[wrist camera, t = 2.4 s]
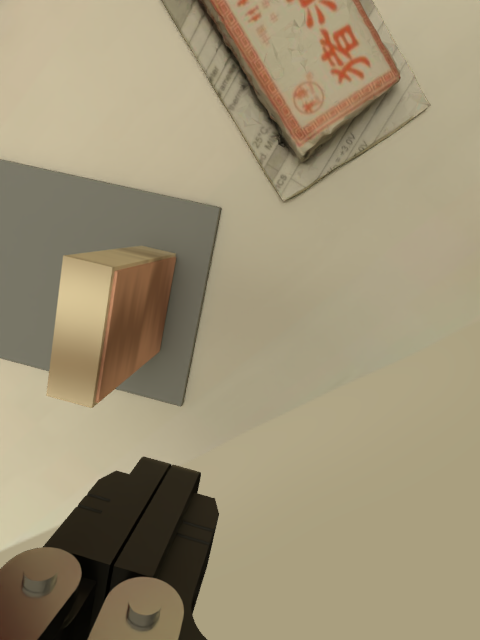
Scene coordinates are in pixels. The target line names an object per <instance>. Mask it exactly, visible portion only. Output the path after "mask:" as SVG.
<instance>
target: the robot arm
mask: <svg viewBox="0 0 480 640" xmlns="http://www.w3.org/2000/svg"><path fill="white" fill-rule="evenodd" d="M200 477H201V473H200V472H197V471H194V470H190V469H187V468H183V467H180V466H176V465H172V466H171V464H168V463H165V462H161V461H158V460H154V459H151V458H147V457H142V458H141V459H140V461H139V462H138V463H137V465H136V466H135V467H134V469H133V470H132V472H131V473H130V474H126V473H123V472H119V471H115V472H113V473H111V474H109V475H107V476H105V477H103V478H101V479H99V480H98V481H97V483H96V484H95V485H94V486H93V487H92V489H91V490H90V491H89V492H88V494H87V496H85V497H84V498H83V499H82V501H81V502H80V503H79V505H78V507H76V508H75V509H74V510H73V511H72V513H71V514H70V515H69V516H68V517H67V519H66V520H65V521H64V522H63V524H62V525H61V526H60V527H59V528H58V530H57V531H56V532H55V533H54V534H53V536H52V537H51V538H50V539H49V540H48V542H47V543H46V544H45V545H44V546H43V547H42V548H35V549H31V550H27V551H24V552H22V553H20V554H18V555H16V556H15V557H13V558H12V559H11V560H9V561H8V562H7V563H6V564H5V565H4V566H3V567H2V568H1V569H0V640H207V639H206V638H205V637H204V636H203V635H202V634H201V632H200V631H199V629H198V628H197V626H196V624H195V622H194V619H193V616H192V614H193V610H194V607H195V604H196V600H197V597H198V594H199V591H200V587H201V584H202V581H203V577H204V574H205V571H206V568H207V564H208V560H209V555H210V551H211V546H212V542H213V537H214V533H215V529H216V525H217V520H218V516H219V513H218V509H217V505H216V501H215V498H211V497H208V496H204V495H200V494H197V491H198V487H199V482H200Z"/></svg>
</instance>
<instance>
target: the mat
mask: <svg viewBox="0 0 480 640" xmlns="http://www.w3.org/2000/svg"><path fill="white" fill-rule="evenodd" d="M220 213H221V208H220V207H215V206H211V205H206V204H202V203H197V202H193V201H188V200H183V199H179V198H174V197H170V196H165V195H160V194H156V193H151V192H147V191H142V190H138V189H133V188H128V187H124V186H119V185H115V184H110V183H106V182H101V181H96V180H92V179H87V178H83V177H78V176H74V175H69V174H64V173H60V172H55V171H51V170H46V169H41V168H37V167H32V166H28V165H23V164H19V163H14V162H9V161H5V160H0V358H1V359H5V360H9V361H12V362H16V363H20V364H24V365H27V366H31V367H35V368H39V369H42V370H46V371H49V370H50V361H51V353H52V345H53V336H54V328H55V320H56V311H57V303H58V295H59V286H60V278H61V270H62V261H63V255H71V254H79V253H87V252H95V251H103V250H111V249H119V248H127V247H135V246H146V247H150V248H154V249H159V250H163V251H167V252H172V253H176V262H175V268H174V274H173V279H172V285H171V290H170V296H169V302H168V307H167V313H166V318H165V324H164V330H163V335H162V341H161V347H160V352H158V353H157V354H156V355H155V356H154V357H152V358H151V359H150V360H149V361H148V362H146V363H145V364H144V365H143V366H142V367H141V368H139V369H138V370H137V371H136V372H135V373H133V374H132V375H131V376H130V377H129V378H127V379H126V380H125V381H124V382H123V383H121V384H120V385H119V386H118V387H117V388H115V389H117V390H121V391H125V392H129V393H132V394H136V395H140V396H144V397H147V398H151V399H155V400H159V401H162V402H166V403H170V404H174V405H177V406H182V405H183V401H184V396H185V391H186V386H187V381H188V376H189V371H190V366H191V360H192V355H193V350H194V345H195V340H196V335H197V330H198V325H199V320H200V315H201V309H202V304H203V299H204V294H205V289H206V284H207V279H208V274H209V269H210V264H211V258H212V253H213V248H214V243H215V238H216V233H217V228H218V223H219V218H220Z"/></svg>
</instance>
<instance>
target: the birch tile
mask: <svg viewBox="0 0 480 640" xmlns="http://www.w3.org/2000/svg"><path fill="white" fill-rule="evenodd" d="M175 262H176V253H172V252H167V251H163V250H159V249H154V248H150V247H146V246H135V247H127V248H119V249H111V250H103V251H95V252H87V253H79V254H71V255H63V261H62V270H61V278H60V286H59V295H58V303H57V311H56V320H55V328H54V336H53V345H52V353H51V361H50V370H49V378H48V386H47V394H46V396H50V397H53V398H57V399H61V400H64V401H68V402H72V403H75V404H79V405H83V406H86V407H90V408H93V407H94V406H95V405H96V404H97V403H99V402H100V401H101V400H102V399H103V398H105V397H106V396H107V395H108V394H109V393H111V392H112V391H113V390H114V389H115V388H117V387H118V386H119V385H120V384H121V383H123V382H124V381H125V380H126V379H127V378H129V377H130V376H131V375H132V374H133V373H135V372H136V371H137V370H138V369H139V368H141V367H142V366H143V365H144V364H145V363H146V362H148V361H149V360H150V359H151V358H152V357H154V356H155V355H156V354H157V353H158V352H160V347H161V341H162V335H163V330H164V324H165V318H166V313H167V307H168V302H169V296H170V290H171V285H172V279H173V274H174V268H175Z"/></svg>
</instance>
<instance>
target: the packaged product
mask: <svg viewBox="0 0 480 640" xmlns="http://www.w3.org/2000/svg"><path fill="white" fill-rule="evenodd" d="M162 2H163V4H164V5H165V7H166V9H167V10H168V12H169V14H170V16H171V17H172V19H173V21H174V22H175V24H176V26H177V28H178V29H179V31H180V33H181V35H182V36H183V38H184V39H185V41H186V42H187V44H188V45H189V47H190V49H191V50H192V52H193V53H194V55H195V56H196V58H197V60H198V62H199V63H200V65H201V67H202V69H203V70H204V72H205V74H206V76H207V77H208V79H209V81H210V83H211V84H212V86H213V88H214V90H215V91H216V93H217V95H218V97H219V98H220V100H221V101H222V103H223V104H224V106H225V107H226V109H227V110H228V112H229V114H230V115H231V117H232V118H233V120H234V122H235V123H236V125H237V127H238V129H239V130H240V132H241V134H242V135H243V137H244V139H245V141H246V142H247V144H248V146H249V147H250V149H251V151H252V152H253V154H254V156H255V158H256V159H257V161H258V163H259V164H260V166H261V168H262V169H263V171H264V173H265V175H266V176H267V178H268V179H269V181H270V182H271V184H272V185H273V187H274V188H275V190H276V191H277V193H278V194H279V196H280V197H281V199H282V200H283V201H286V200H288V199H289V198H291V197H293V196H295V195H297V194H299V193H301V192H303V191H305V190H306V189H308V188H309V187H310V186H312V185H313V184H314V183H316V182H317V181H318V180H320V179H321V178H323V177H324V176H325V175H327V174H328V173H329V172H331V171H332V170H333V169H335V168H337V167H339V166H340V165H342V164H344V163H346V162H348V161H349V160H351V159H353V158H355V157H357V156H358V155H360V154H362V153H363V152H365V151H366V150H368V149H369V148H371V147H373V146H374V145H376V144H377V143H379V142H381V141H382V140H384V139H385V138H387V137H388V136H390V135H392V134H393V133H395V132H396V131H397V130H399V129H400V128H401V127H402V126H404V125H405V124H406V123H408V122H409V121H410V120H411V119H413V118H414V117H415V116H417V115H418V114H419V113H421V112H422V111H423V110H425V109H426V108H427V107H429V106H430V103H429V102H428V100H427V99H426V97H425V95H424V93H423V92H422V90H421V88H420V86H419V84H418V82H417V80H416V78H415V75H414V73H413V72H412V70H411V68H410V67H409V65H408V63H407V61H406V60H405V58H404V56H403V55H402V53H401V52H400V51H399V49H398V47H397V45H396V43H395V41H394V39H393V38H392V36H391V34H390V32H389V30H388V28H387V26H386V25H385V23H384V21H383V19H382V17H381V16H380V14H379V12H378V10H377V8H376V6H375V5H374V3H373V1H372V0H162Z"/></svg>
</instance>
